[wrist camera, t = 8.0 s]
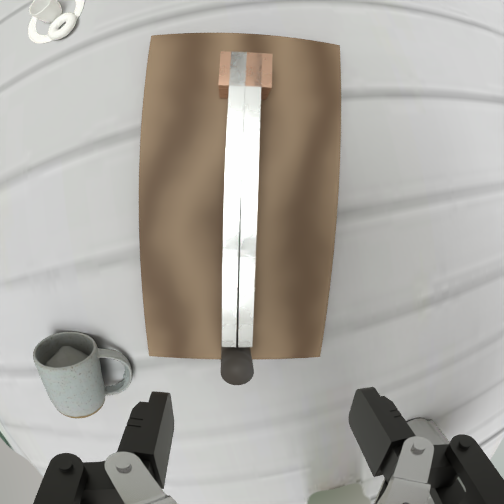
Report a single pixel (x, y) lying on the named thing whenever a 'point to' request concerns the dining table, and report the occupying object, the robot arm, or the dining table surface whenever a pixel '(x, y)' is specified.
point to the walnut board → (212, 198)
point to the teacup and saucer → (52, 19)
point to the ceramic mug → (76, 373)
